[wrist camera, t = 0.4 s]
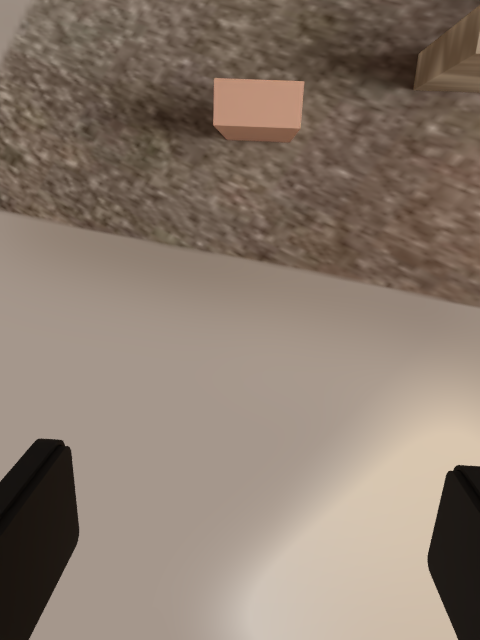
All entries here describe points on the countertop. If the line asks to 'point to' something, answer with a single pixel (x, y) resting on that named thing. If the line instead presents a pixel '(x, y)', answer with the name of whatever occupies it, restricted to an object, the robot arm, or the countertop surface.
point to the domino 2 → (452, 59)
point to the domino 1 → (258, 109)
